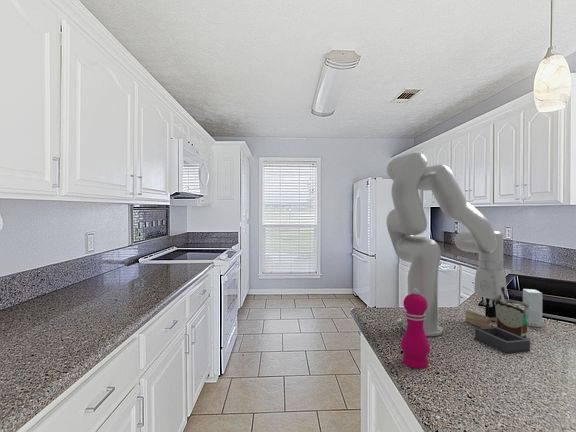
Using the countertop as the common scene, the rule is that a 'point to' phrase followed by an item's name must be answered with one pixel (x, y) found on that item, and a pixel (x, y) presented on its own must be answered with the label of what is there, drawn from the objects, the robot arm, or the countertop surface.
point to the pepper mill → (415, 332)
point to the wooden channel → (478, 319)
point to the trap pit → (502, 339)
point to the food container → (512, 316)
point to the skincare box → (533, 306)
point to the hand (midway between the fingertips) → (490, 316)
